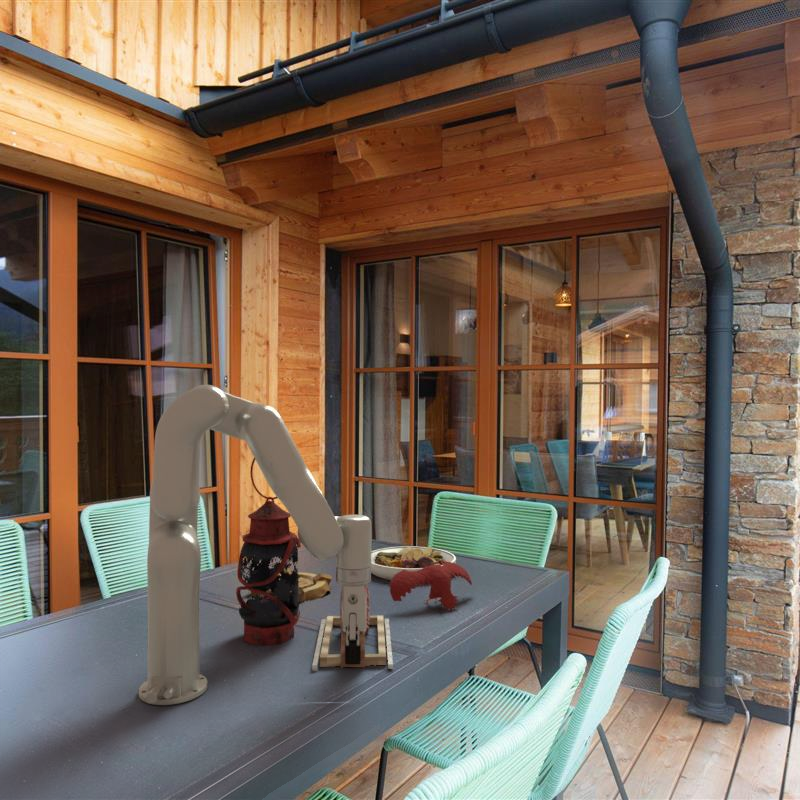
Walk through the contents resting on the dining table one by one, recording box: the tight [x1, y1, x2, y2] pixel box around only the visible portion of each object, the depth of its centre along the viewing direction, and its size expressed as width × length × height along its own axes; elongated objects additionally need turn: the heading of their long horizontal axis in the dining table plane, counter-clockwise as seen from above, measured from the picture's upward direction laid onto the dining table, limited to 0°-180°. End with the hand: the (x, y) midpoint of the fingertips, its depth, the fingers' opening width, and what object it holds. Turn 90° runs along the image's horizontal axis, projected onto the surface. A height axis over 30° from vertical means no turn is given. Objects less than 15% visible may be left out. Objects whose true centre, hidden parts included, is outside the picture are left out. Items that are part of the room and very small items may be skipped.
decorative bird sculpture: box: [389, 562, 473, 612], centre depth 180 cm, size 28×9×15 cm
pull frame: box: [319, 614, 387, 669], centre depth 151 cm, size 27×14×7 cm, turn 3°
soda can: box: [339, 584, 371, 635], centre depth 158 cm, size 7×7×12 cm
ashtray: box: [250, 567, 333, 603], centre depth 192 cm, size 24×24×5 cm
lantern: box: [235, 457, 302, 647], centre depth 155 cm, size 16×15×45 cm
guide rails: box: [311, 618, 394, 672], centre depth 150 cm, size 28×17×1 cm, turn 3°
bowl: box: [371, 545, 457, 581], centre depth 215 cm, size 30×30×8 cm
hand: (353, 659), depth 139 cm, fingers closed on pull frame, 3 cm apart
